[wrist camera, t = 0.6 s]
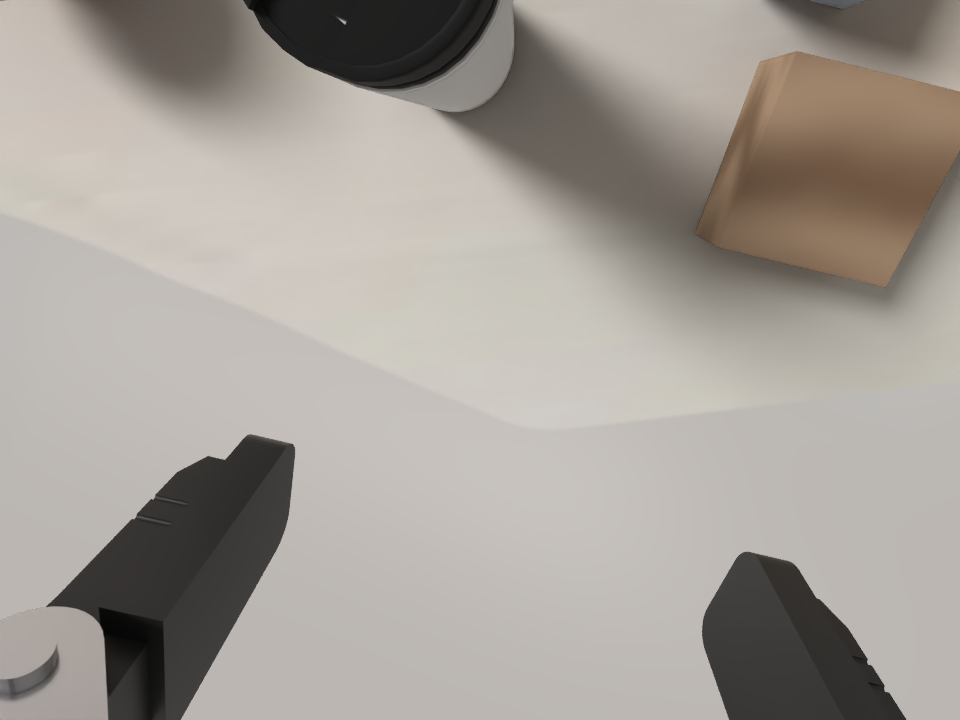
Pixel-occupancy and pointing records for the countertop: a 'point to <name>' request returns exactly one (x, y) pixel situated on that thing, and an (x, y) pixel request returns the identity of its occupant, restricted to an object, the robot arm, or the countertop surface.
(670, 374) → the countertop surface
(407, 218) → the countertop surface
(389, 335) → the countertop surface
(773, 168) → the walnut plinth
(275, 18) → the travel mug
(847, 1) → the slate block
